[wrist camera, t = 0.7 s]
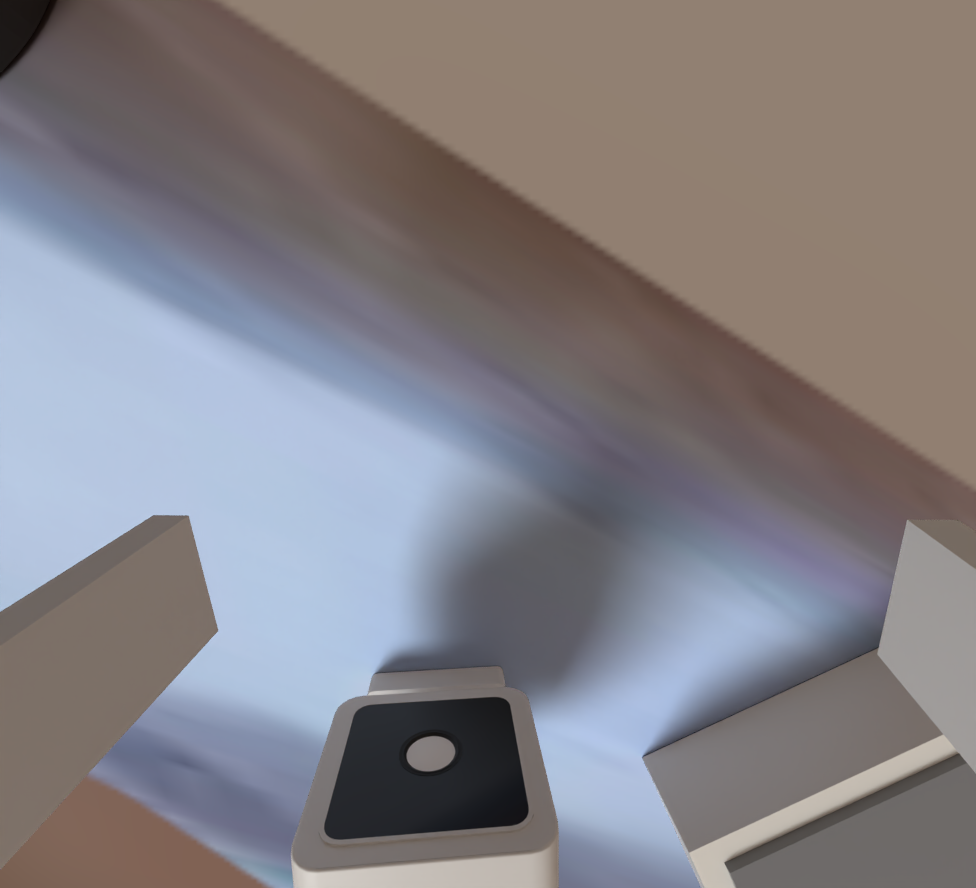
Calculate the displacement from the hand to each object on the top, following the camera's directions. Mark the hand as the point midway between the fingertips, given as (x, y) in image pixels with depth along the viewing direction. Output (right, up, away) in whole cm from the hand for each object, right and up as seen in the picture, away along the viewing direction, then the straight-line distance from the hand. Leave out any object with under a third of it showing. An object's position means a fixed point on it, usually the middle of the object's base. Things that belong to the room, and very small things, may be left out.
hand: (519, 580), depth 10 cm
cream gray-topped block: (+15, -15, +14) cm, 25 cm away
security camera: (-3, -9, +12) cm, 15 cm away
